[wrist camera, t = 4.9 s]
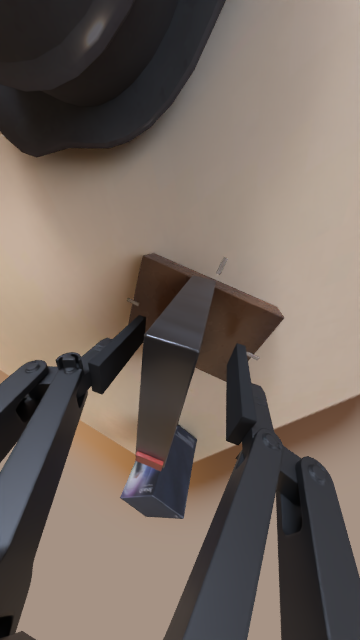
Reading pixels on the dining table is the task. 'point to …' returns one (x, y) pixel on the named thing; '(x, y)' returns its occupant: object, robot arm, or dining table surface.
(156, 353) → the frame
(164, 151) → the dining table surface
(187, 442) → the small box
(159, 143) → the dining table surface
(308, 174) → the dining table surface
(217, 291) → the frame stand
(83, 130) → the casserole
